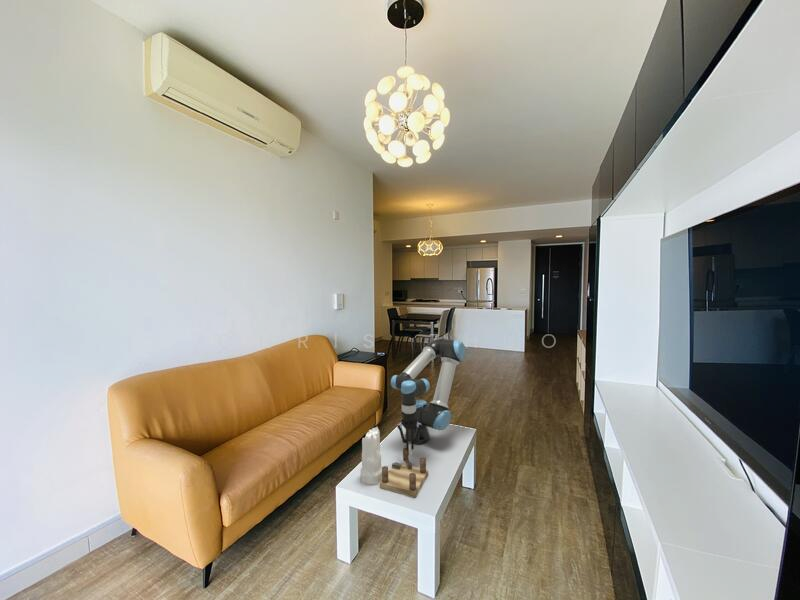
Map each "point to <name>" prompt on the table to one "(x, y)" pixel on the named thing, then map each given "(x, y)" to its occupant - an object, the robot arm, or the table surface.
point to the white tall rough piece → (371, 458)
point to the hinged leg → (406, 458)
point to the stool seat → (404, 478)
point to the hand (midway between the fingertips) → (410, 454)
